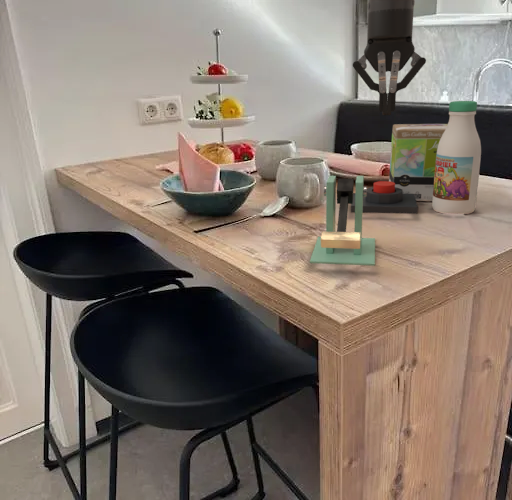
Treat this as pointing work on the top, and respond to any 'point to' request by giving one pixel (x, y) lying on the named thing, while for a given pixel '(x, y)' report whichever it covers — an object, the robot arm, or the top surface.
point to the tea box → (415, 158)
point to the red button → (384, 187)
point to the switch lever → (342, 220)
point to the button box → (388, 202)
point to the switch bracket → (366, 244)
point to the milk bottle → (457, 162)
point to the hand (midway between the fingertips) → (386, 114)
